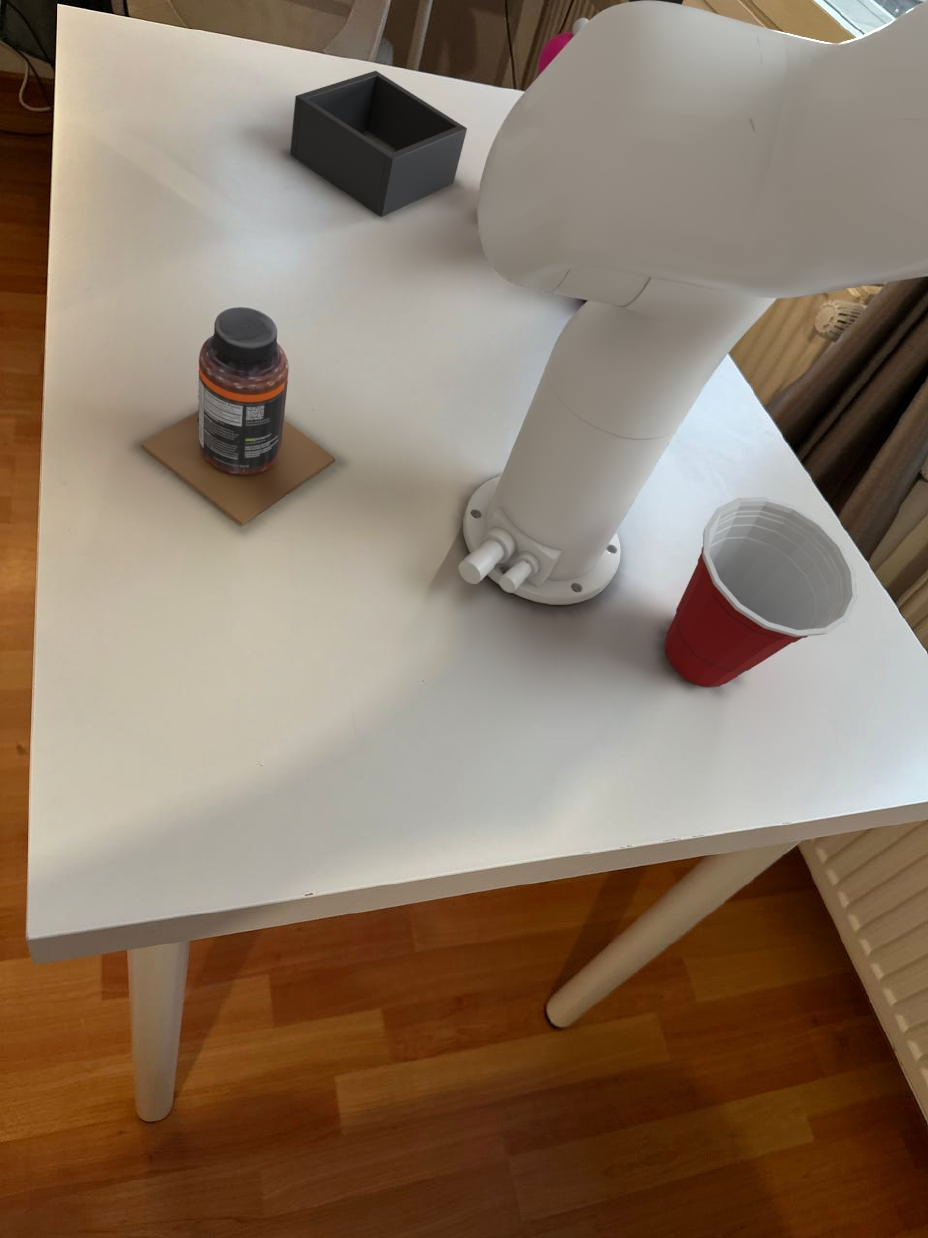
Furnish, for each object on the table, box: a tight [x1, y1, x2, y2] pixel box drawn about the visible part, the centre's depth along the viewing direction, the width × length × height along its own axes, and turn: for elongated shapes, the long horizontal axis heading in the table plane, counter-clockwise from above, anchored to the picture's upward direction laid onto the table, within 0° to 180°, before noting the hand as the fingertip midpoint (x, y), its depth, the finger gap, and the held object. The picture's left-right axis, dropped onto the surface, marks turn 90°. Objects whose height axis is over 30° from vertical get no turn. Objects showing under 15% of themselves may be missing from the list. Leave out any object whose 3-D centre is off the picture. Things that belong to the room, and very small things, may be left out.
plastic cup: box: [664, 496, 858, 688], centre depth 61 cm, size 11×11×12 cm
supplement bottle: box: [197, 306, 290, 476], centre depth 61 cm, size 6×6×11 cm
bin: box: [289, 70, 468, 218], centre depth 92 cm, size 13×13×6 cm
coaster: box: [140, 410, 336, 527], centre depth 66 cm, size 10×10×1 cm
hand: (632, 8), depth 60 cm, fingers open, 9 cm apart
